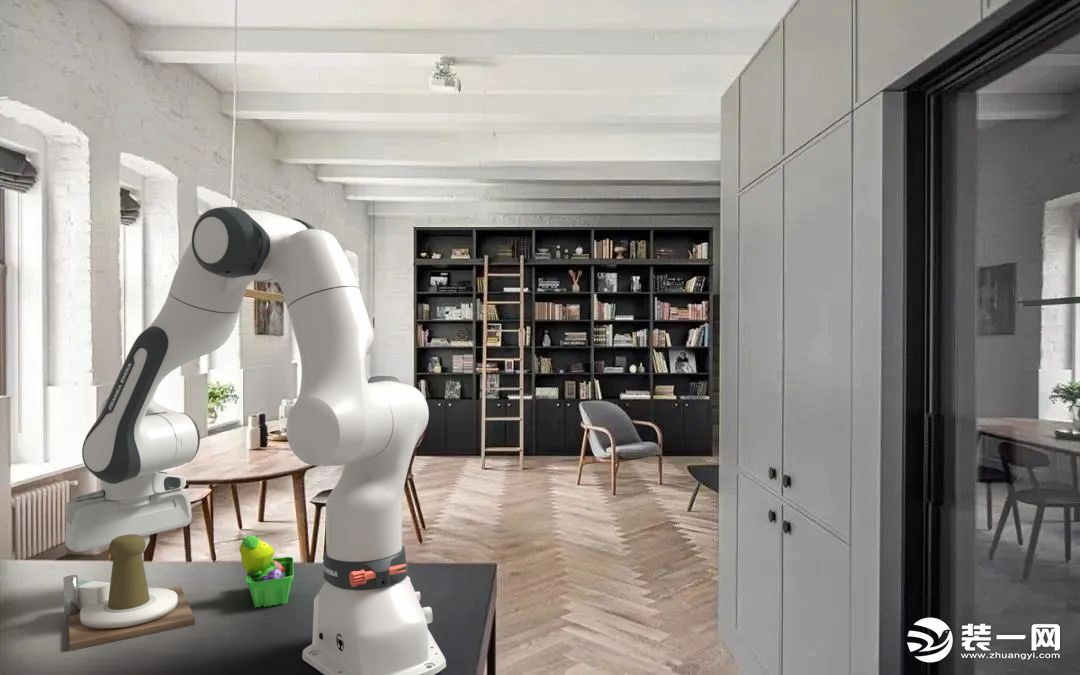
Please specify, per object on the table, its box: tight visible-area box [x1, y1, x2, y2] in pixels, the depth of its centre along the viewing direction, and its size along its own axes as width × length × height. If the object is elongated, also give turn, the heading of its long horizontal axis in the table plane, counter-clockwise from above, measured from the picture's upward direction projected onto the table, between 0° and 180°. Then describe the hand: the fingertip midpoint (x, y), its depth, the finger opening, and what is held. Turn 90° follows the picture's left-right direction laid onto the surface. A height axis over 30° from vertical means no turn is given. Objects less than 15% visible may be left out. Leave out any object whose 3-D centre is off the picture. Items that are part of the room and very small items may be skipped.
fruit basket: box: [239, 535, 295, 609], centre depth 131 cm, size 11×9×11 cm
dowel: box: [62, 574, 79, 623], centre depth 122 cm, size 2×2×7 cm
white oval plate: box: [78, 579, 178, 629], centre depth 123 cm, size 18×14×4 cm
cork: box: [108, 534, 150, 610], centre depth 122 cm, size 6×6×11 cm
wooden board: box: [68, 585, 196, 652], centre depth 123 cm, size 17×17×1 cm
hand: (133, 563), depth 132 cm, fingers closed
